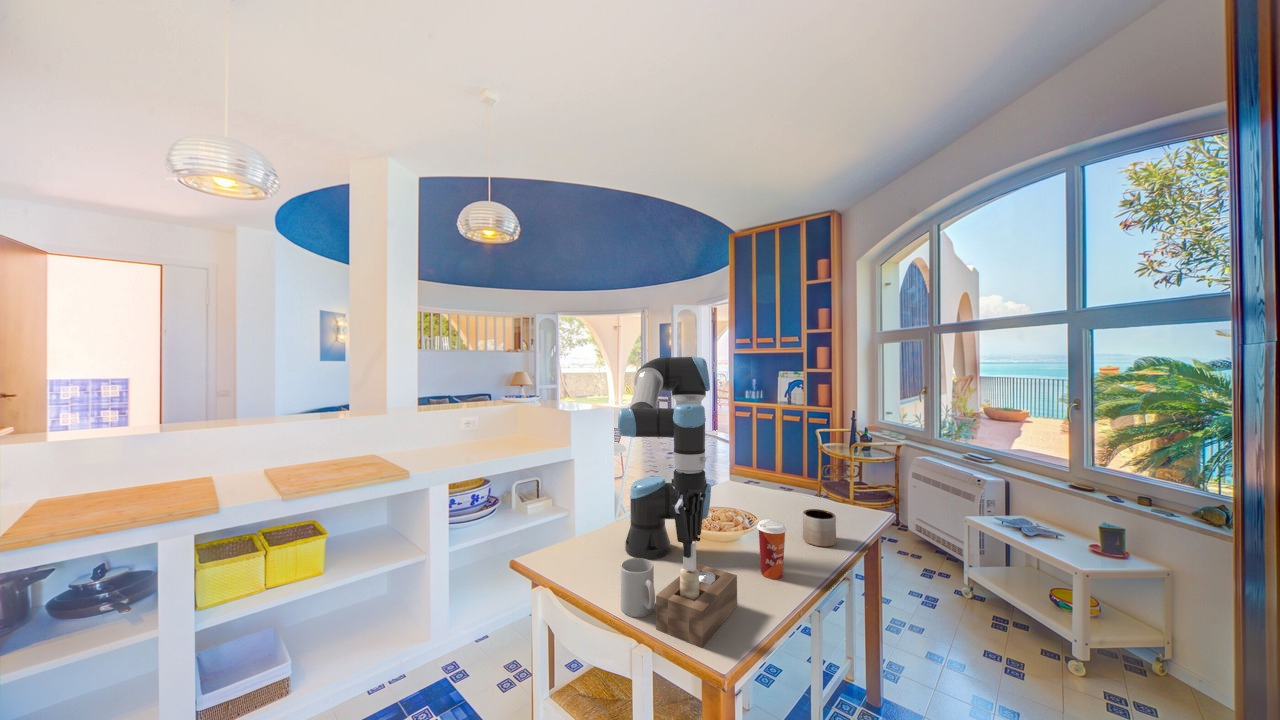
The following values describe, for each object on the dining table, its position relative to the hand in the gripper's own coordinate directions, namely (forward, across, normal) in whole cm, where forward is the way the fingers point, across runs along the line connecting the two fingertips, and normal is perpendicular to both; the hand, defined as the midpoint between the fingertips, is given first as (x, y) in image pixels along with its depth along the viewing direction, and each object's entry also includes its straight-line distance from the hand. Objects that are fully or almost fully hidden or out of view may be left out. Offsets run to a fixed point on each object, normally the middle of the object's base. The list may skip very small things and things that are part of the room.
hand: (689, 568), depth 105 cm
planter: (+14, +70, -14) cm, 72 cm away
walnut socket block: (+14, +5, 0) cm, 14 cm away
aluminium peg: (+13, +9, 0) cm, 16 cm away
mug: (+14, -1, +13) cm, 19 cm away
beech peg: (+9, 0, 0) cm, 9 cm away
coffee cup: (+14, +37, -8) cm, 40 cm away
